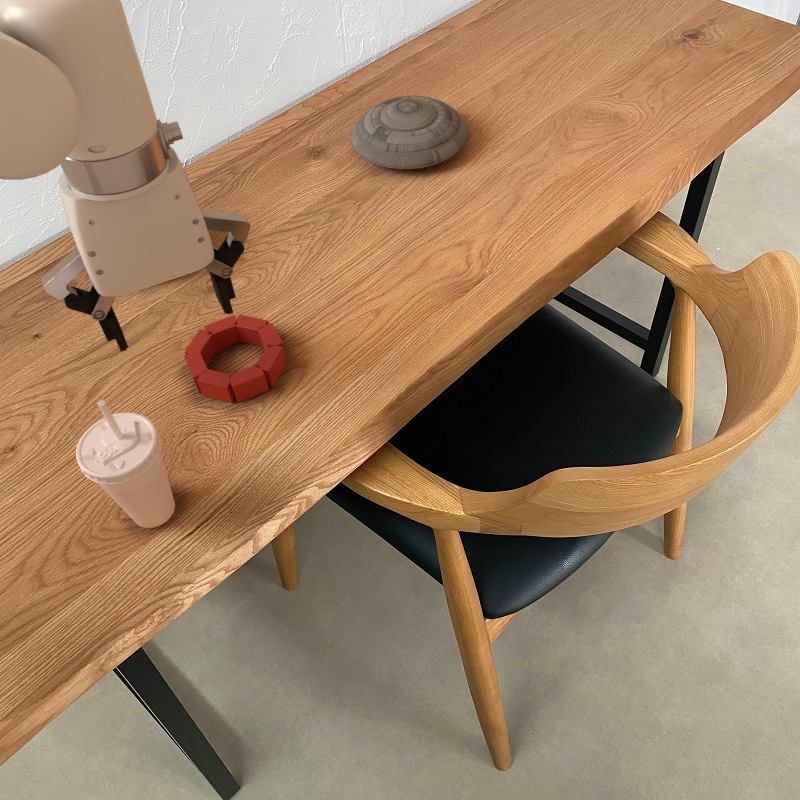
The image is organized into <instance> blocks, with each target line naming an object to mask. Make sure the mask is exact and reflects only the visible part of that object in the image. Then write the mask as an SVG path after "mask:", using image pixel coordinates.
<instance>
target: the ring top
mask: <svg viewBox="0 0 800 800" xmlns="http://www.w3.org/2000/svg"><path fill="white" fill-rule="evenodd" d="M203 328H204V329H201V328H199V330H198V331H197V333H196V334H195V335H194V337H193V338H192V340H191V341H190V343H189V344H188V345H187V347H186V348H185V350H184V354H185V355H183V359H184V361H185V363H186V366H187V369H188V371H189V373H190V375H191V378H192V380H193V382H194V385H195V387H196V389H197V392H198V394H202V396H203V397H205V398H209V399H214V400H218V401H221V402H225V403H231V404H232V403H234V401H235V400H236V402H237V403H241V402H243V401H245V400H248V399H250V398H253V397H255V396H258V395H261V394H263V393H266V392H269V391H270V388H269V387H272V388H274V387H275V385H276V383H277V381H278V379H279V378H280V376H281V375H282V373H283V371H284V369H285V368H286V366H287V363H288V362H287V359H288V357H287V353H286V349H285V345H284V342H283V340H282V339H281V337H280V335H279V333H278V331H277V330H276V328H275V326H274V324H273V322H270V323H269V320H268V319H262V318H258V317H253V316H248V315H244V314H238V316H237V317H236V315H234V314H232V315H230V316H227V317H225V318H222V319H219V320H216V321H213V322H211V323H208V324H205V325H203ZM238 343H246V344H249V345H252V346H253V345H254V346H258V347H262V348H263V352H262V353H261V355H260V357H259V358H258V360H257V361H256V363H255V364H254V365H251V366H249V367H246V368H244V369H241V370H239V371H236V372H233V373H231V374H230V373H226V372H222V371H219V370H218V371H217V370H213V369H209V368H208V366H209V364H210V363H211V362H212V360H213V358H214V357H215V355H216V354H217V352H219V351H220V350H223V349H226V348H228V347H231V346H233V345H236V344H238Z"/></svg>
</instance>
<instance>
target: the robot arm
mask: <svg viewBox="0 0 800 800" xmlns="http://www.w3.org/2000/svg"><path fill="white" fill-rule="evenodd" d="M132 36H133V35H132V33H131V30H130V26H129V23H128V19H127V17H126V13H125V10H124V7H123V3H122V0H0V180H6V181H12V180H13V181H16V180H17V181H22V180H28V179H33V178H37V177H40V176H43V175H46V174H48V173H49V172H51V171H54V170H55V169H56V168H58V167H59V166H61V169H62V172H61V173H60V175H59V176H58V178H57V185H58V191H59V197H60V201H61V204H62V209H63V212H64V215H65V219H66V222H67V224H68V226H69V227H68V228H69V229H70V232H71V235H72V237H73V241H74V244H75V246H76V247H75V248H74V249H72V250H71V251H70V252H69V253H68V254H67V255H66V256H65V257H63V258H62V259H61V260H59V262H58V263H56V264H55V265H54V266H52V268H51V269H49V271H47V272H46V273H45V274H44V275H43V276H42V277H41V279H40V280H41V285H42V289H43V292H45V293H46V294H47V295H48V296H50V297H52V298H54V299H55V300H56V301H58V302H60V303H62V304H64V305H65V307H66V308H67V309H69V310H72V311H75V312H79V313H81V314H85V315H88V316H90V317H91V318H92V319H93V320H94V321H97V322H98V323H99V326H100V328H101V330H102V332H103V334H104V337H105V339H106V341H107V342H110V341H114V340H115V342H116V344H117V346H118V348H119V351H120V352H121V353H122V352H125V351H128V348H129V345H128V342H127V340H126V337H125V334H124V331H123V329H122V326H121V324H120V321H119V320H118V317H117V315H116V313H115V310H114V308H113V304H114V302H115V300H116V298H117V297H121V296H125V295H129V294H132V293H136V292H138V291H142V290H144V289H148V288H150V287H153V286H154V287H155V286H156V285H160V284H162V283H165V282H169V281H171V280H172V281H173V280H174V279H178V278H181V277H184V276H187V275H190V274H192V273H195V272H197V271H201V270H202V269H203V270H205V271H207V272H208V273H209V277H210V281H211V283H212V287H213V291H214V294H215V296H216V299H217V301H218V303H219V305H220V307H221V308H222V311H223V313H224V314H225V315H233V314H234V310H233V306H232V302H231V300H233V299H236V298H237V297H236V293H235V289H234V286H233V282H232V278H231V276H233V274H234V269H233V268H234V267H235V265H236V263H237V262H238V261H239V259H240V258H241V256H242V255H243V253H244V252H245V242H247V239H248V236H249V232H250V228H251V224H250V221H249V220H248V218H247V216H246V215H245V214H243V213H237V212H229V211H228V212H227V211H220V210H212V209H203V208H201V206H200V204H199V201H198V198H197V196H196V194H195V191H194V189H193V186H192V184H191V181H190V179H189V178H188V176H187V173H186V169H185V168H184V165H183V163H182V161H181V159H180V157H179V156H178V154H177V152H176V151H175V149H174V148H173V147H172V146H170V145H174V144H175V142H177V141H180V140H183V139H184V137H183V132H182V130H181V126H180V125H179V122H178V121H172V122H167V121H166V122H165V121H164V122H162V121H161V119H160V118H157V116H156V113H155V109H154V105H153V102H152V99H151V95H150V92H149V89H148V85H147V83H146V80H145V76H144V72H143V70H142V66H141V62H140V59H139V56H138V52H137V50H136V45H135V43H134V40H133V37H132ZM209 231H213V232H214V231H215V232H223V233H228V234H227V236H225V238H224V239H223V241H222V243H221V244H220V245H219V247H216V246H214V245H213V242H212V239H211V235H210V233H209ZM85 270H86V271H85ZM84 271H85V272H87V275H88V277H89V280H90V284H89V287H88V289H87V290H86V289H83V288H79V287H76V286H74V285H70V283H71V282H72V281H74V279H76V277H78V276H79V275H80V274H81V273H82V272H84Z"/></svg>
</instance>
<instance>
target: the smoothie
mask: <svg viewBox="0 0 800 800" xmlns="http://www.w3.org/2000/svg"><path fill="white" fill-rule="evenodd" d="M97 407H98V408H99V410H100V412H101V413H102V415H103V418H101V419H100V420H97V421H96V422H94V423H93V424H91V426H90V427H88V428H87V429H86V431H84V433H83V434H82V435H81V437H80V439H79V441H78V443H77V445H76V449H75V459H76V462H77V465H78V466H79V468H80V471H81V472H82V474H83V476H85V477H86V479H88V480H90V481H92V482H93V483H96V484H98V485H99V486H100V487H101V488H102V489H103V490H104V492H106V493H107V494H108V495H109V497H111V499H112V500H113V501H114V502H115V503H116V504H117V505H118V506H119V507H120V508H121V509H122V510H123V511H124V512H125V514H127V515H128V517H129V518H131V519H132V520H133V522H134V523H135V524H136V525H138V526H139V527H141V528H145V529H152V528H153V529H154V528H157V527H160V526H162V525H164V524H166V522H168V521H169V520H170V519H171V518H172V516H173V515H174V512H175V509H176V502H175V498H174V495H173V492H172V488H171V485H170V482H169V477H168V474H167V470H166V467H165V463H164V459H163V456H162V452H161V448H162V440H161V435H160V433H159V431H158V428H156V426H155V424H154V423H153V421H152V420H151V419H149V418H148V417H146V416H145V415H142V414H140V413H135V412H118V413H114V414H113V413H112V412H111V410H110V408H109V407H108V405H107V403H106V401H105V400H104V399H100V400H99V401H97Z"/></svg>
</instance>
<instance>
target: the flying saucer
mask: <svg viewBox="0 0 800 800" xmlns="http://www.w3.org/2000/svg"><path fill="white" fill-rule="evenodd" d="M468 138H469V127H468V124H467V123H466V121H465V119H464V117H463V116H462V115H461V114H460V113H459V112H458V111H457V110H456V109H455V108H453V107H452V106H451V105H449V104H447V103H446V102H444V101H442V100H439V99H437V98H433V97H428V96H423V95H401V96H396V97H393V98H388V99H386V100H383V101H381V102H378V103H377V104H374V105H373V106H371V107H370V108H368V110H367V111H365V112H364V113H363V114H362V115H361V116H360V117H359V118H358V119H357V121H356V123H355V124H354V126H353V128H352V130H351V133H350V145H351V146H352V149H353V150H354V152H355V153H356V154H357V155H358V156H359V157H360V158H362V159H363V160H365V161H366V162H369V163H371V164H373V165H375V166H379V167H382V168H387V169H393V170H415V169H417V170H418V169H423V168H428V167H431V166H435V165H438V164H440V163H443V162H445V161H447V160H449V159H451V158H452V157H454V156H456V154H458V153H459V152H460V151H461V150H462V149H463V148H464V146H465V145H466V143H467V140H468Z"/></svg>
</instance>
